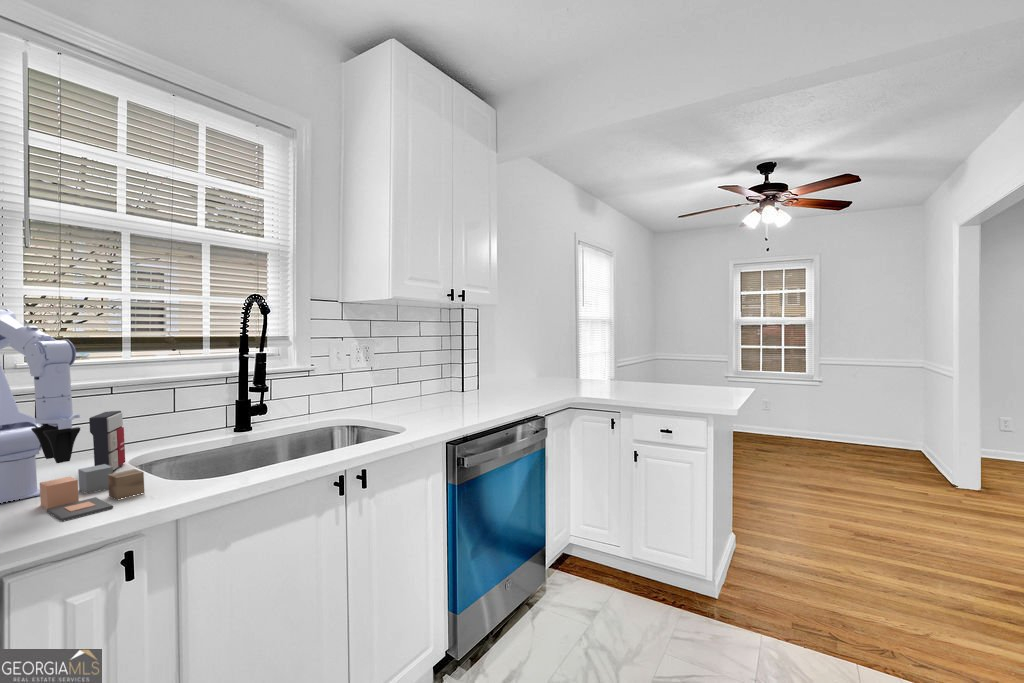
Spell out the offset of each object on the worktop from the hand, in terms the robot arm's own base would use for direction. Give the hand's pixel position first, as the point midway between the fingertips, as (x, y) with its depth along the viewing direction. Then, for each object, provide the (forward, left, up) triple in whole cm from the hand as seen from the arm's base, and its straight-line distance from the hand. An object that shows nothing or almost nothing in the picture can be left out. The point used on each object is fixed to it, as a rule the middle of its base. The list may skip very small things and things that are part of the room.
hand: (57, 460), depth 106 cm
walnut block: (+6, +10, -10) cm, 15 cm away
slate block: (-6, +8, -10) cm, 14 cm away
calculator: (-24, +16, -10) cm, 31 cm away
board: (+9, +1, -10) cm, 13 cm away
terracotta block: (0, 0, -10) cm, 10 cm away
